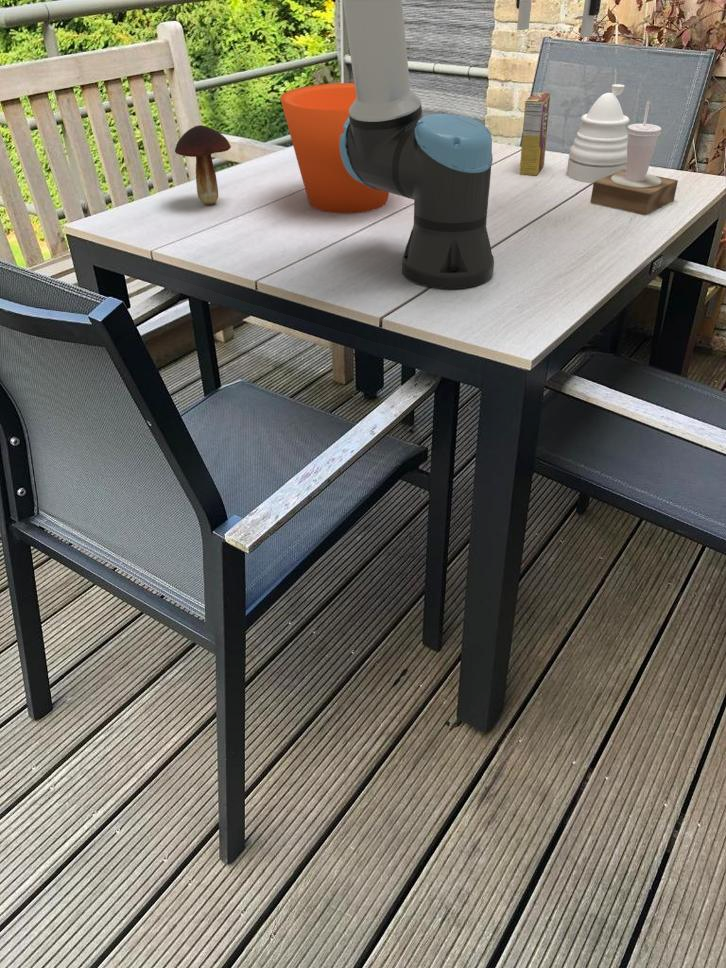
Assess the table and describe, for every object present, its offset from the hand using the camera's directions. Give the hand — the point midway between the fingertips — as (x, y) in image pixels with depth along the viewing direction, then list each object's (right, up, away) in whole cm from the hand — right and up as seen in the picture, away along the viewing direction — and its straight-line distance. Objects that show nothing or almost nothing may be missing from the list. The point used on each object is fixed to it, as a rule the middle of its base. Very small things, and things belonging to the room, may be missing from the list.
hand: (553, 33), depth 150 cm
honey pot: (+17, -14, +32) cm, 39 cm away
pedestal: (+20, -25, +16) cm, 36 cm away
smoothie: (+20, -22, +14) cm, 32 cm away
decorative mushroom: (-66, -25, +18) cm, 73 cm away
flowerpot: (-38, -24, +19) cm, 49 cm away
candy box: (+3, -12, +35) cm, 37 cm away
